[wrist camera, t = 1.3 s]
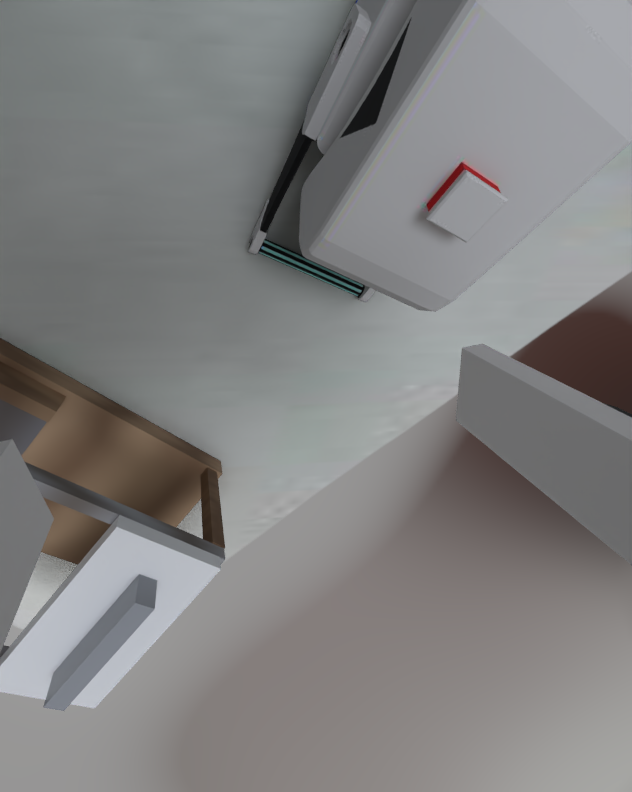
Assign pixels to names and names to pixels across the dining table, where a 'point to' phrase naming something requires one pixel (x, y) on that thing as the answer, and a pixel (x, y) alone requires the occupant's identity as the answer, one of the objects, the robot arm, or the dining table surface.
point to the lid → (105, 616)
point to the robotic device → (451, 138)
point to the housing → (101, 461)
